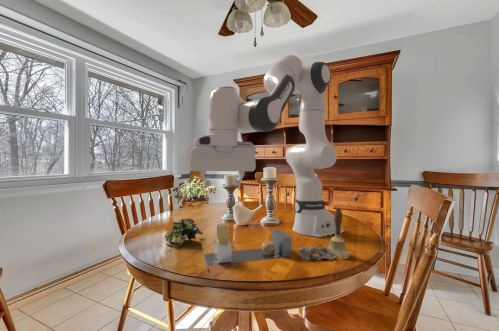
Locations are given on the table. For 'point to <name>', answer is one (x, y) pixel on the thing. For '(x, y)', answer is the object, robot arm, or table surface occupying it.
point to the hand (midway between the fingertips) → (222, 186)
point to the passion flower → (183, 230)
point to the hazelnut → (268, 248)
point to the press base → (257, 251)
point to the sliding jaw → (222, 244)
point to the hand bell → (338, 238)
